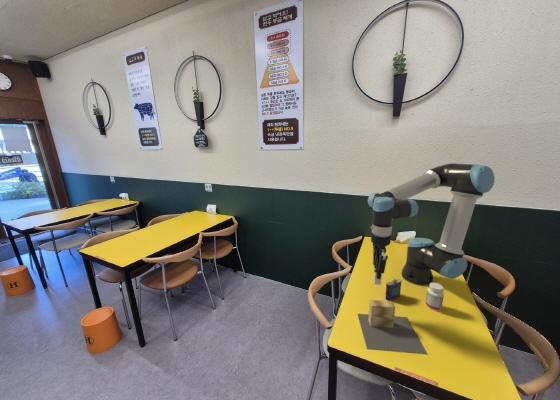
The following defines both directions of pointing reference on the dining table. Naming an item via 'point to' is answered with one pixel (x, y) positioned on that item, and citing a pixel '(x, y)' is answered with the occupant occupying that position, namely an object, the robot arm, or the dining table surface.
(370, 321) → the oak tile
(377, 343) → the mat
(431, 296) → the pill bottle
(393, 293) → the flask
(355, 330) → the dining table surface
